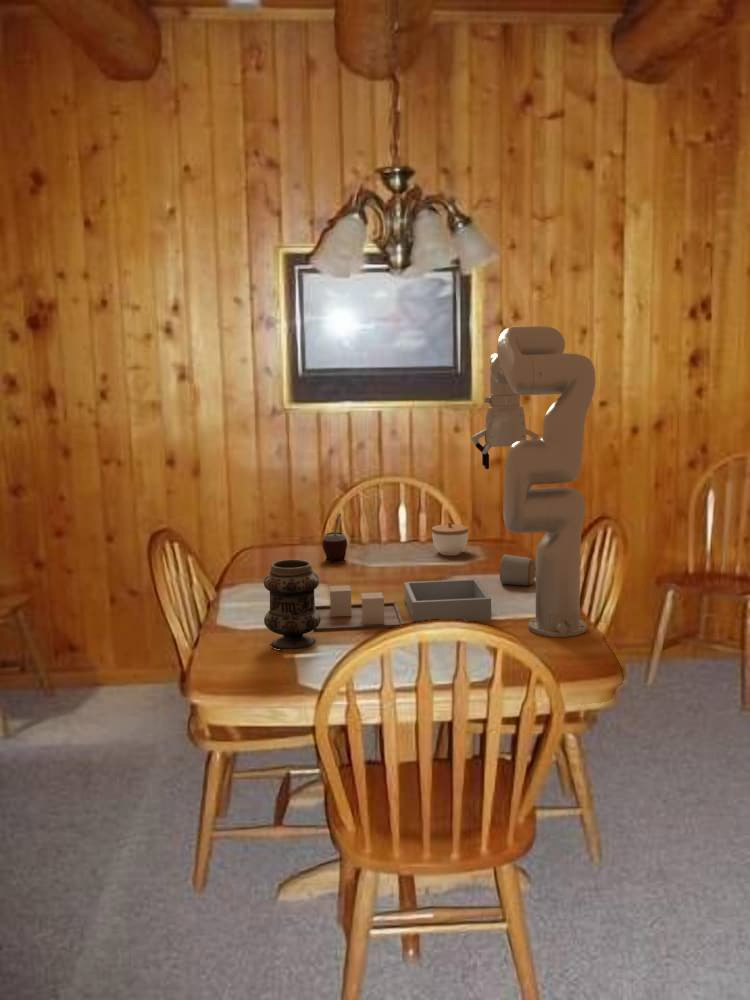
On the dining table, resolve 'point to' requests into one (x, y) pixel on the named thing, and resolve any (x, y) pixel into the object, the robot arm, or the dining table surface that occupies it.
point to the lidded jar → (450, 538)
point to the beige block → (372, 608)
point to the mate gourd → (335, 545)
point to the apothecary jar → (292, 603)
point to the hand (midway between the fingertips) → (505, 467)
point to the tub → (447, 600)
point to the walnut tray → (357, 618)
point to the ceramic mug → (517, 570)
